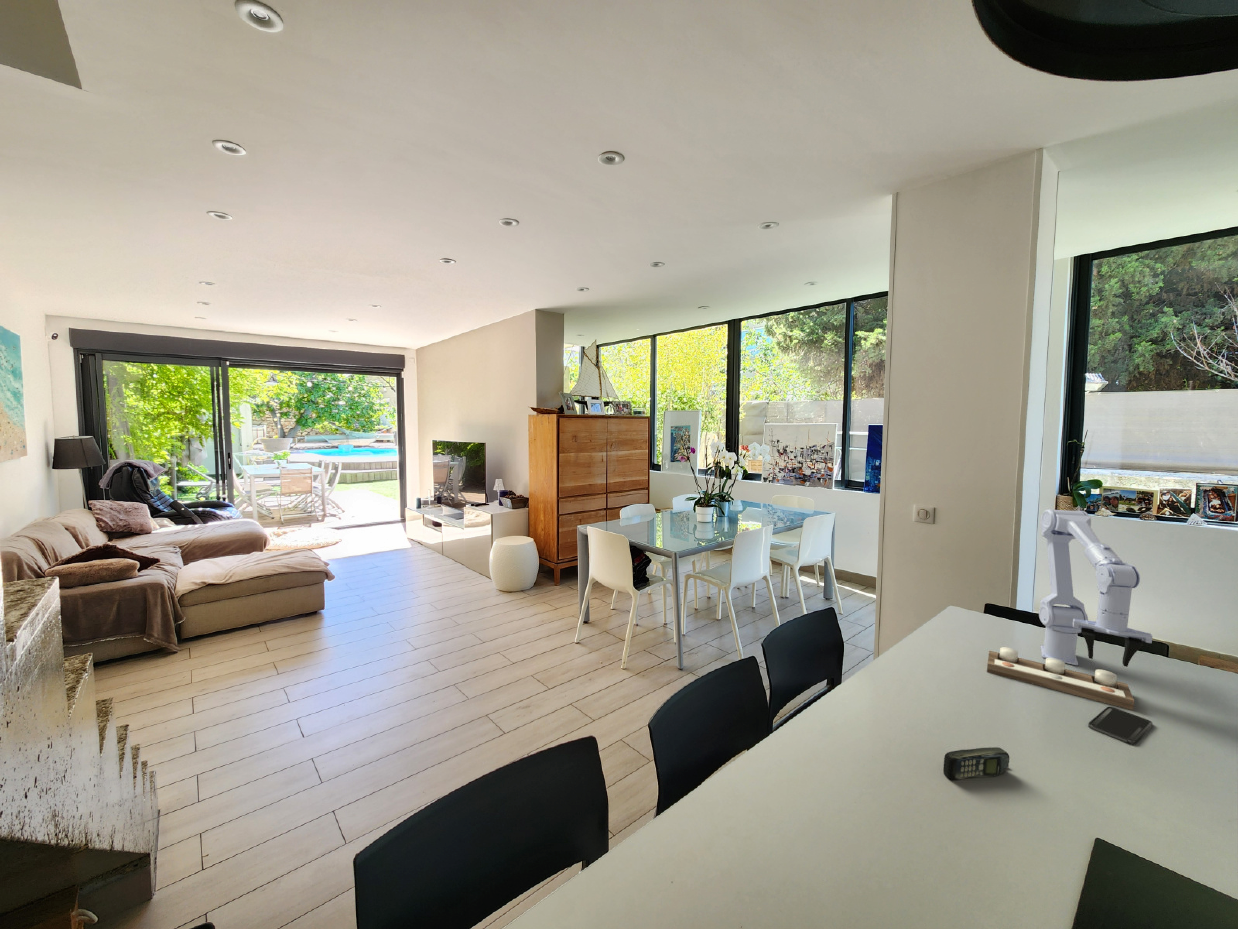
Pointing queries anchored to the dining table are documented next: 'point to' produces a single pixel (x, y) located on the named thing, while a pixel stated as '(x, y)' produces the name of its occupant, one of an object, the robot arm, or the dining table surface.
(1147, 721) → the phone
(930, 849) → the dining table surface
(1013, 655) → the end button
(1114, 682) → the end button
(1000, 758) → the mobile phone
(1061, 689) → the button board
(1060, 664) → the middle button
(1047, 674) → the pattern card
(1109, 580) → the robot arm
